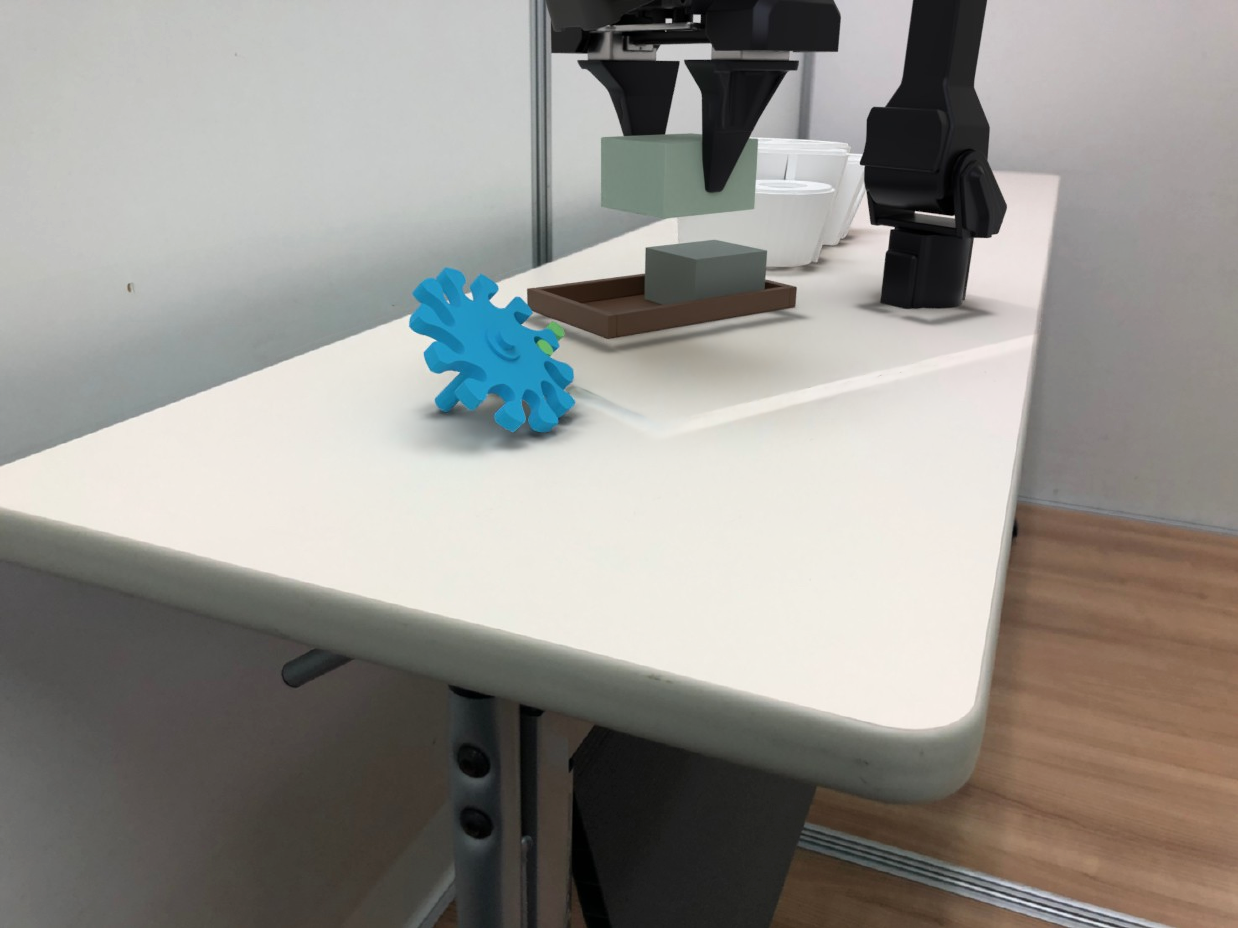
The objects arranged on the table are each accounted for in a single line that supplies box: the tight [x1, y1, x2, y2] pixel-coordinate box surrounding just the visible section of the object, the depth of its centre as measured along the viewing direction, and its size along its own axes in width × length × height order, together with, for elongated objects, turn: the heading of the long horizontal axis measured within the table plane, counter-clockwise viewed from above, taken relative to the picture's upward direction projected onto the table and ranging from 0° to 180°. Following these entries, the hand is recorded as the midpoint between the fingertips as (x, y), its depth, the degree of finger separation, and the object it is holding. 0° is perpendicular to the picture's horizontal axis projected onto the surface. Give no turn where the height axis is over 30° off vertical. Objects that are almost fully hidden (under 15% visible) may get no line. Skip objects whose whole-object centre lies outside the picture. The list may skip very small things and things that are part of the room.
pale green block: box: [600, 133, 758, 220], centre depth 57 cm, size 7×6×4 cm
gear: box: [408, 267, 577, 433], centre depth 51 cm, size 11×6×10 cm
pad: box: [644, 240, 767, 305], centre depth 74 cm, size 7×6×4 cm
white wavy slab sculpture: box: [676, 136, 866, 268], centre depth 100 cm, size 35×16×10 cm, turn 155°
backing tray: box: [526, 273, 798, 340], centre depth 72 cm, size 17×10×2 cm, turn 126°
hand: (677, 186), depth 58 cm, fingers closed on pale green block, 6 cm apart
